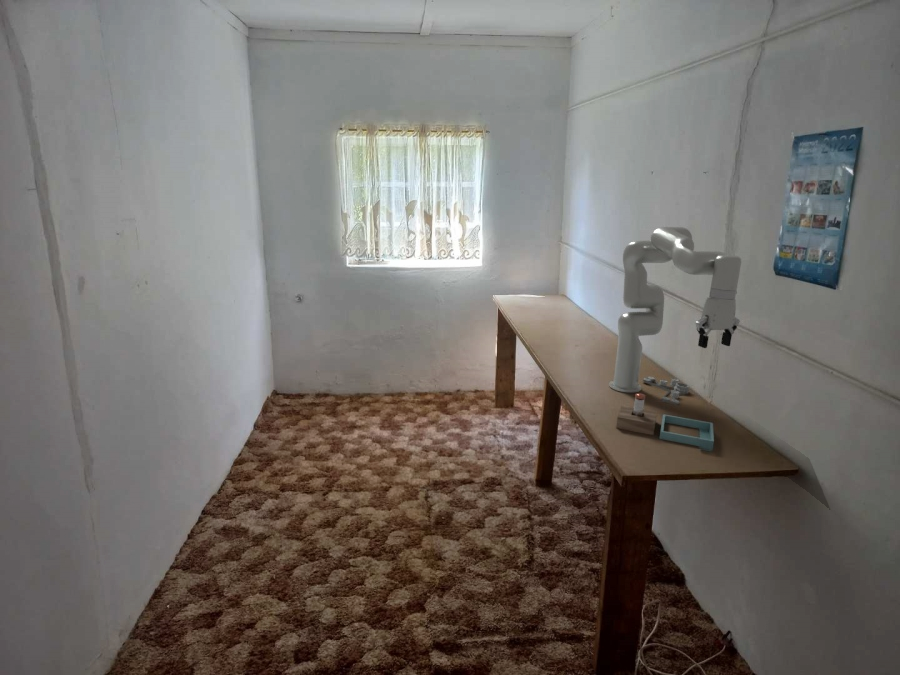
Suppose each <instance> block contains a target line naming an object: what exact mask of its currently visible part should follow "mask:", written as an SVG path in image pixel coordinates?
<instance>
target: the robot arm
mask: <svg viewBox="0 0 900 675" xmlns="http://www.w3.org/2000/svg"><path fill="white" fill-rule="evenodd" d="M670 261H672V263H673V265H674V266H675V267H676V268H677V269H679V270H680V271H682V272H684V273H686V274H688V275H693V276H702V275H704V276H705V275H706V276H707V275H708V276H709V275H710V276H711V278H712V279H711V284H710V290H709V297H707V298H706V300H705V303H704V304H703V308H702V311H701V312H702V313H701V316H700V319H699V320H696V321H695V326H696V330H697V332H698V336H699V338H698V344H697V347H700V348H703V349H707V348H708V342H709V336H708V335H709V334H710V333H711V331H719V330H720V331H721V330H723V332H722V337H721V342H720V344H721V345H723V346H726V347H730V346H731V343H732V342H731V341H732V336H733V334H734V333H735V331H736V330H737V328H738V326H739V324H740V322H741V321H740V319H738V318H737V317H736V308H737V307H736V306H737V302H736V296H737V290H738V289H737V288H738V285H739V277H740V272H741V265H742V258H741V257H740V256H737V255H732V254H727V253H725V252H721V251H712V250H711V251H710V250H709V251H705V250H704V251H702V250H701V251H700V250H699V251H697V250H695V242H694V240H693V235H692V233H691V231H690V230H689V229H688V228H685V227H681V226H680V227H679V226H675V227H674V226H662V227H658V228H656V229H655V230H654V231H653V232H652V233H651V235H650V240H635V241H631V242H629V243H628V244H627V245H626V246H625V247H624V250H623V254H622V263H623V268H624V269H623V270H624V280H623V294H622V295H623V297H622V298H623V304H624V306H625V307H626V308H627V309H645V311H629V312H628V311H627V312H625V313H623V314H621V315H620V316H619V318H618V320H617V333H618V337H617V338H618V342H617V349H616V350H617V351H616V358H615V366H614V375H613V380H610V382H609V383H608V386H609V387H610V388H611V389H613V390H615V391H617V392H620V393H634V394H635V393H639V392H640V391H641V390H642V386H641V385H640V384H639V375H640V369H641V362H642V361H641V360H642V353H643V345H642V342H641V340H640V337H641V336H645V337H646V336H656V335H658V334H659V333H660V332H661V330H662V328H663V324H664V309H665V294H664V291H663V289H662V288H661V287H660V286H659V285H657V284H653V283H652V284H651V283H649V284H648V272H647V270H646V267H645V266H644V264H664V263H668V262H670Z"/></svg>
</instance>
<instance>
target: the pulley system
mask: <svg viewBox="0 0 900 675" xmlns="http://www.w3.org/2000/svg"><path fill="white" fill-rule="evenodd" d="M642 382H643V383H645V384H648V385H651V386H654V387H656V388H659V389H662V390H664V391H666V394H664V395H663V396H662V397H661V401H662V402H664V403H668V404H672V405H675V406H676V405H680V400H677V399H678V398H679V397H680V396H683V395H684V394H686V395H688V394H689V393H690V392H689V391H690V389H689V387H690V386H689V385H688V384H686V383H682V382H680V380H679V379H678V378H674V377H672V378H671V380H670V383H669V386H668V380H666V379H659V382H658V381H657V380H656V379H655V377H654V376H647V377H643V379H642ZM653 382H655V383H653ZM669 394H670V395H669ZM668 395H669V397H670V398H669V397H667V396H668Z"/></svg>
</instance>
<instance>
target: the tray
mask: <svg viewBox="0 0 900 675" xmlns="http://www.w3.org/2000/svg"><path fill="white" fill-rule="evenodd" d="M665 423H667V424H672V425H679V426H683V427H689V428H694V429H698V437H697V436H692V435H686V434H682V433H681V434H680V433H675V432H671V431H665V430H664V429H665ZM714 438H715V435H714V423H713V422H710V421H704V420H703V421H702V420H698V419H693V418H686V417H680V416H675V415H671V414H670V415H668V414H662V419H661V426H660V432H659V439H660V440H664V441H670V442H676V443H680V444H684V445H685V444H686V445H691V446H697V447H698V449H699V450H702V451H708V452H713V449H714V444H715V439H714Z"/></svg>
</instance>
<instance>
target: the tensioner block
mask: <svg viewBox="0 0 900 675" xmlns="http://www.w3.org/2000/svg"><path fill="white" fill-rule="evenodd" d="M633 411H634V406H629V405H624V404H621V406H620V409H619V412H618V415H617V419H616V426H615V428H616V429H619V430H625V431H631V432H635V433H640V434H646V435H650V436H655V435H654V434H655V429H656V424H657V423H656V422H657V416H658V411H657V410H653V409H648V408H647V409H646V408H643V414H642V417H639V416H634V415H633Z"/></svg>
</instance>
